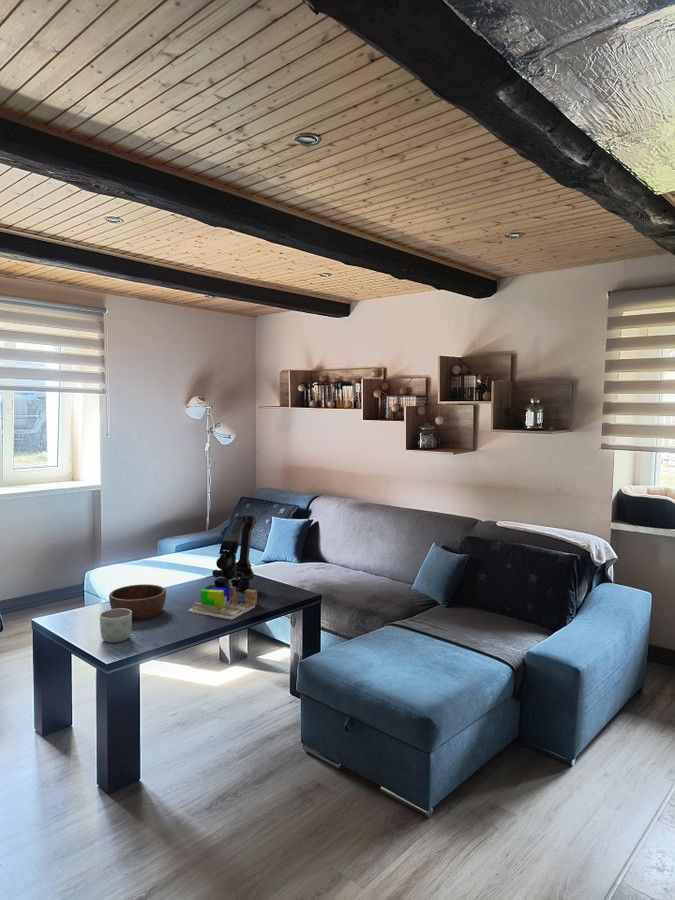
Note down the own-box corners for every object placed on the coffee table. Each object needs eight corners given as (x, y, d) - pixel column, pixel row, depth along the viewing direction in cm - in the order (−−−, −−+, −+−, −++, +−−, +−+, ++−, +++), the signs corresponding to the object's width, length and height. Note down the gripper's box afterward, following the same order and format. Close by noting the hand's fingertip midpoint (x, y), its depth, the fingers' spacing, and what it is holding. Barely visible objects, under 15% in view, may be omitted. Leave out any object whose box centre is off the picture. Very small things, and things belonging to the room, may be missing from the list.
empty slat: (248, 603, 296) (248, 589, 295) (256, 604, 294) (256, 590, 293) (223, 616, 277) (223, 601, 276) (232, 618, 275) (232, 603, 274)
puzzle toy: (229, 606, 291) (229, 586, 290) (221, 613, 281) (221, 592, 280) (209, 605, 293) (209, 585, 292) (200, 612, 283) (200, 591, 282)
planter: (122, 631, 257) (122, 606, 257) (138, 639, 249) (137, 613, 249) (94, 639, 248) (94, 613, 247) (109, 647, 240) (109, 620, 239)
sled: (219, 598, 303) (219, 584, 302) (244, 602, 297) (244, 588, 296) (192, 611, 284) (192, 596, 283) (219, 615, 278) (219, 600, 277)
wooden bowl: (110, 607, 288) (110, 586, 287) (165, 602, 296) (165, 582, 295) (107, 625, 264) (107, 602, 264) (167, 620, 272) (167, 597, 271)
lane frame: (213, 600, 300) (213, 598, 300) (255, 607, 290) (255, 605, 290) (188, 611, 283) (188, 609, 283) (232, 619, 273) (232, 617, 273)
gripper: (227, 558, 309) (227, 589, 310) (204, 566, 292) (205, 598, 293) (245, 561, 305) (245, 591, 305) (224, 569, 288) (224, 601, 288)
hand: (230, 595), depth 298 cm, fingers open, 7 cm apart
